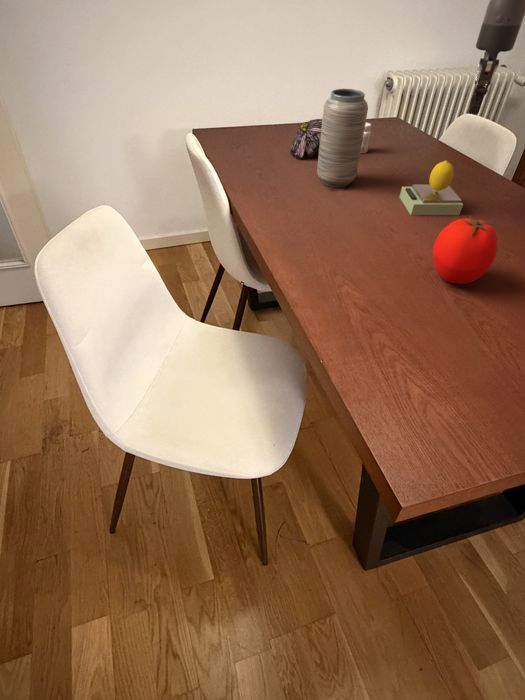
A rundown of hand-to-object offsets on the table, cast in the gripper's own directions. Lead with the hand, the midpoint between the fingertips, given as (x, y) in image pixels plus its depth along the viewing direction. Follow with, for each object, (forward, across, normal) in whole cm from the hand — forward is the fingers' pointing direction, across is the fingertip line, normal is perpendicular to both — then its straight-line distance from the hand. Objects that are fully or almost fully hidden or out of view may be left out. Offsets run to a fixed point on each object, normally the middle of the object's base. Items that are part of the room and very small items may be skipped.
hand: (473, 108), depth 95 cm
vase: (+22, 0, +31) cm, 38 cm away
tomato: (+23, -38, -5) cm, 45 cm away
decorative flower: (+22, +19, +45) cm, 54 cm away
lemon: (+19, -4, +3) cm, 20 cm away
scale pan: (+20, -4, +3) cm, 20 cm away
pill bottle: (+23, +29, +30) cm, 48 cm away
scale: (+23, -5, +4) cm, 23 cm away
